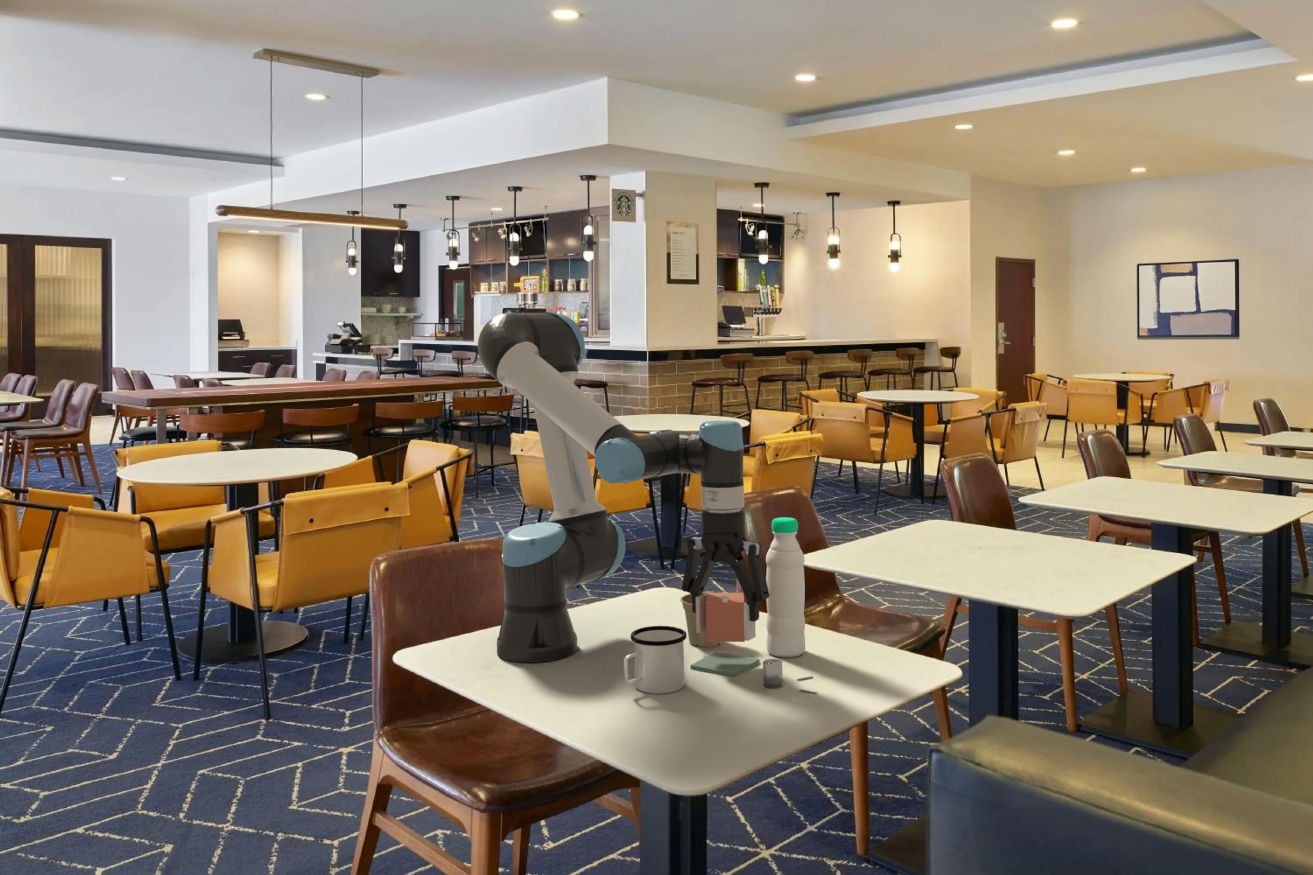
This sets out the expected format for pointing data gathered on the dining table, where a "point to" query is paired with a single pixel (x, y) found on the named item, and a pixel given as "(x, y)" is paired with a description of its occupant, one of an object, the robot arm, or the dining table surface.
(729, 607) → the orange box with tab
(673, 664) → the mug
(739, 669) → the pad
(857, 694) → the dining table surface
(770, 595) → the water bottle
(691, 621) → the flower pot
